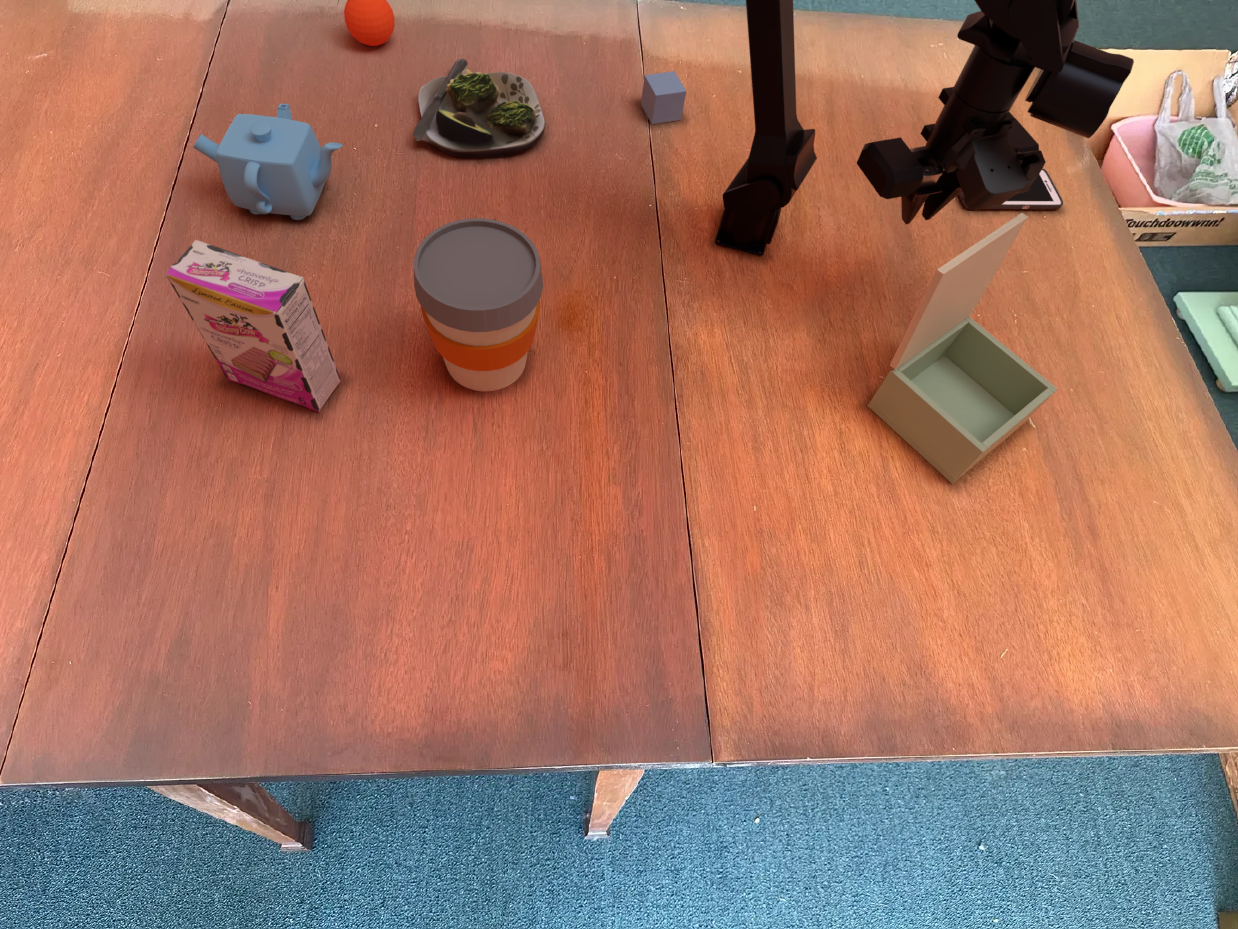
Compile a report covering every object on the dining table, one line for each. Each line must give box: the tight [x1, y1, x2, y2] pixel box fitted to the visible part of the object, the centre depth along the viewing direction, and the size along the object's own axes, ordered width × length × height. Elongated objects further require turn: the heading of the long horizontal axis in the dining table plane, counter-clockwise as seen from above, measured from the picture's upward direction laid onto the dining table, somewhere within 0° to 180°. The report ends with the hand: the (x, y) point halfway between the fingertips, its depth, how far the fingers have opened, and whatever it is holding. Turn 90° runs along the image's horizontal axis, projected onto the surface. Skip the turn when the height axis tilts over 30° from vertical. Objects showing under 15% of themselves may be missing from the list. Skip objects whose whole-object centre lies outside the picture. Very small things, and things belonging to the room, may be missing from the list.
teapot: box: [192, 103, 344, 221], centre depth 93 cm, size 18×14×10 cm
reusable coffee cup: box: [413, 217, 544, 392], centre depth 81 cm, size 13×13×15 cm
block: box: [640, 70, 687, 125], centre depth 110 cm, size 5×5×5 cm
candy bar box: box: [165, 239, 342, 413], centre depth 76 cm, size 11×5×16 cm, turn 71°
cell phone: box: [958, 168, 1064, 210], centre depth 110 cm, size 8×15×1 cm, turn 96°
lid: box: [889, 212, 1029, 370], centre depth 80 cm, size 13×14×1 cm
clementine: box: [336, 0, 396, 47], centre depth 111 cm, size 8×7×7 cm
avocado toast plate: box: [412, 58, 546, 159], centre depth 106 cm, size 19×18×5 cm
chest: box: [867, 316, 1058, 485], centre depth 86 cm, size 13×14×7 cm
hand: (915, 219), depth 88 cm, fingers closed
